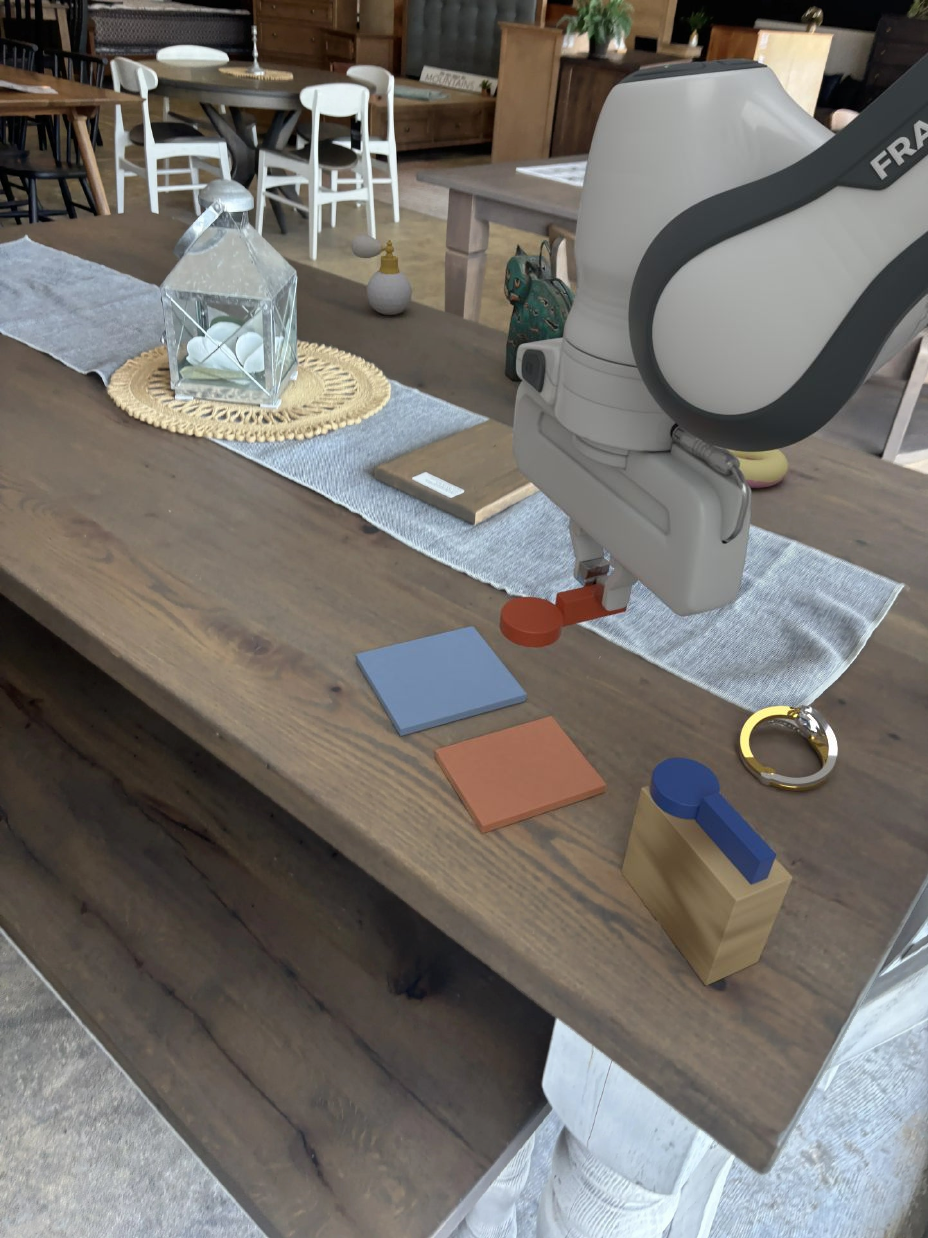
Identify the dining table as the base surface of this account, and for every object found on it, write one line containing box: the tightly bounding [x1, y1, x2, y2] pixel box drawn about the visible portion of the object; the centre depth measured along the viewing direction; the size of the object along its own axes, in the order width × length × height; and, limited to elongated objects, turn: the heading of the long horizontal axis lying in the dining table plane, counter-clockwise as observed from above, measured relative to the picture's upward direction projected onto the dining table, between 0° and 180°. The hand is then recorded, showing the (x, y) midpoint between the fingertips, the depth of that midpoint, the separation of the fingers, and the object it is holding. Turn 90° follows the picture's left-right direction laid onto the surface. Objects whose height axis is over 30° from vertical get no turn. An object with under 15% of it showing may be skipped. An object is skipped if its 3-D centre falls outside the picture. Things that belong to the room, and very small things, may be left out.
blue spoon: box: [649, 757, 777, 885], centre depth 52 cm, size 9×4×2 cm, turn 26°
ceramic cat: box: [503, 239, 575, 382], centre depth 121 cm, size 20×6×20 cm, turn 20°
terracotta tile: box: [434, 715, 607, 834], centre depth 66 cm, size 8×10×1 cm
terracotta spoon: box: [499, 584, 628, 648], centre depth 59 cm, size 9×4×2 cm, turn 115°
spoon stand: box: [621, 784, 793, 986], centre depth 55 cm, size 9×4×8 cm, turn 26°
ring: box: [738, 704, 838, 792], centre depth 69 cm, size 7×3×8 cm
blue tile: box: [355, 625, 528, 737], centre depth 75 cm, size 10×11×1 cm
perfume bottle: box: [350, 234, 413, 316], centre depth 149 cm, size 8×10×12 cm
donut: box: [727, 449, 789, 489], centre depth 109 cm, size 10×5×9 cm
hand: (599, 593), depth 59 cm, fingers closed on terracotta spoon, 1 cm apart
